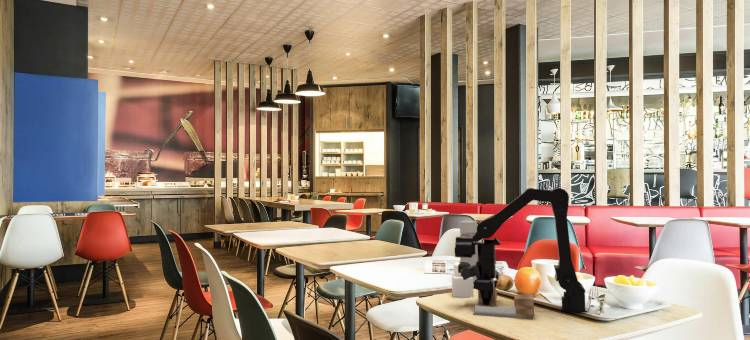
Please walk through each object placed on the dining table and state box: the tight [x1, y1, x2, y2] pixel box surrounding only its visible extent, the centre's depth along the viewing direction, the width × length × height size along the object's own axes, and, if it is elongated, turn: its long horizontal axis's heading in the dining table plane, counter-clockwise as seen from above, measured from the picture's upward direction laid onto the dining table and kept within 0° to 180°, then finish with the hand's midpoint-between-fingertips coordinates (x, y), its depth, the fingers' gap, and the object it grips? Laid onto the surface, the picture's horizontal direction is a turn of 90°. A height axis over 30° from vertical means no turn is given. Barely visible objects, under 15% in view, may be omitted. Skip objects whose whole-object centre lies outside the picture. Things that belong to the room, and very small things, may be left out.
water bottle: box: [459, 220, 478, 282], centre depth 209 cm, size 9×8×25 cm
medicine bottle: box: [451, 261, 474, 298], centre depth 188 cm, size 7×7×12 cm
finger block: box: [477, 288, 498, 306], centre depth 169 cm, size 5×6×6 cm
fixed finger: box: [513, 293, 535, 321], centre depth 157 cm, size 5×6×6 cm
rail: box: [472, 303, 535, 321], centre depth 159 cm, size 18×6×3 cm, turn 70°
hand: (487, 305), depth 169 cm, fingers closed on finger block, 6 cm apart
